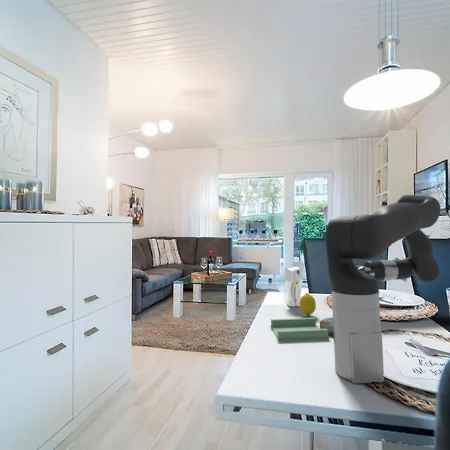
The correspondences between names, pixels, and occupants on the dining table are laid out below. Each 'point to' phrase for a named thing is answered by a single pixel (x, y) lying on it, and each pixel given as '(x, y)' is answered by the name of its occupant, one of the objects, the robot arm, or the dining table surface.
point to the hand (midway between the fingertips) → (337, 272)
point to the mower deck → (327, 325)
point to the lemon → (307, 304)
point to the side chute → (298, 329)
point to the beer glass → (293, 286)
